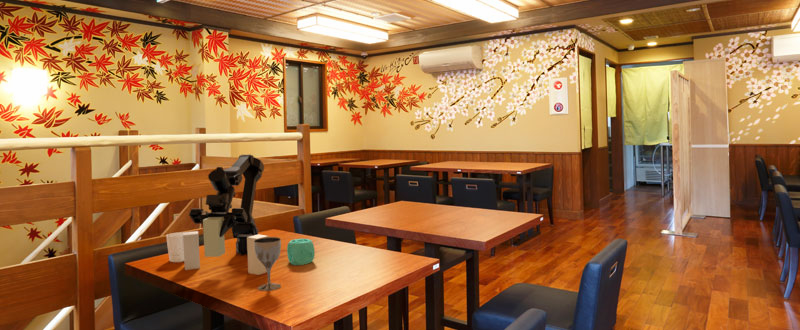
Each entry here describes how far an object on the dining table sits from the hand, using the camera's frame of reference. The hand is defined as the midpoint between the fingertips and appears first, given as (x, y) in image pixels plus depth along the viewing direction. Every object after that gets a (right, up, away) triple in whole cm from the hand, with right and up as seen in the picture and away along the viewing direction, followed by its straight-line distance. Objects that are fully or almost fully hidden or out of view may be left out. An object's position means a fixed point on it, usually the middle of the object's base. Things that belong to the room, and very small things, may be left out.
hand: (212, 236), depth 168 cm
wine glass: (+22, -14, -12) cm, 29 cm away
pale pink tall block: (-12, -13, +12) cm, 21 cm away
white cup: (-21, -12, +22) cm, 33 cm away
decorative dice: (+27, -12, +16) cm, 34 cm away
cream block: (+14, -13, +4) cm, 20 cm away
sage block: (0, -6, +2) cm, 7 cm away
